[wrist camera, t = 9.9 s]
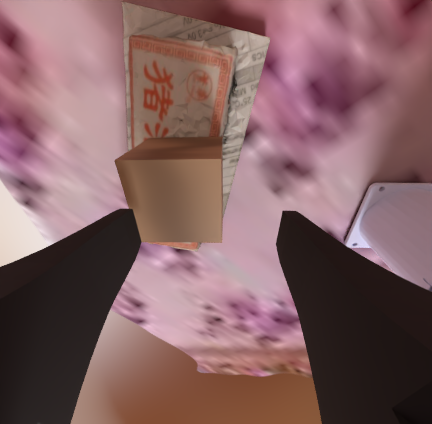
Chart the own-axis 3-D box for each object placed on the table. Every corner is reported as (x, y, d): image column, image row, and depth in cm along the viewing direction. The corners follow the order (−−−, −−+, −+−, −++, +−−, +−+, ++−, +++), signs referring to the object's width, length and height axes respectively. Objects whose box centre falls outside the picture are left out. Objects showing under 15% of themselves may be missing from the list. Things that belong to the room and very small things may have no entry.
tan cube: (222, 136, 13) (221, 159, 9) (222, 201, 16) (222, 242, 12) (149, 137, 13) (114, 160, 9) (161, 201, 16) (139, 242, 12)
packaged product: (217, 262, 20) (115, 245, 19) (218, 232, 24) (135, 217, 23) (285, 21, 10) (86, -32, 9) (268, 40, 14) (128, 4, 13)
